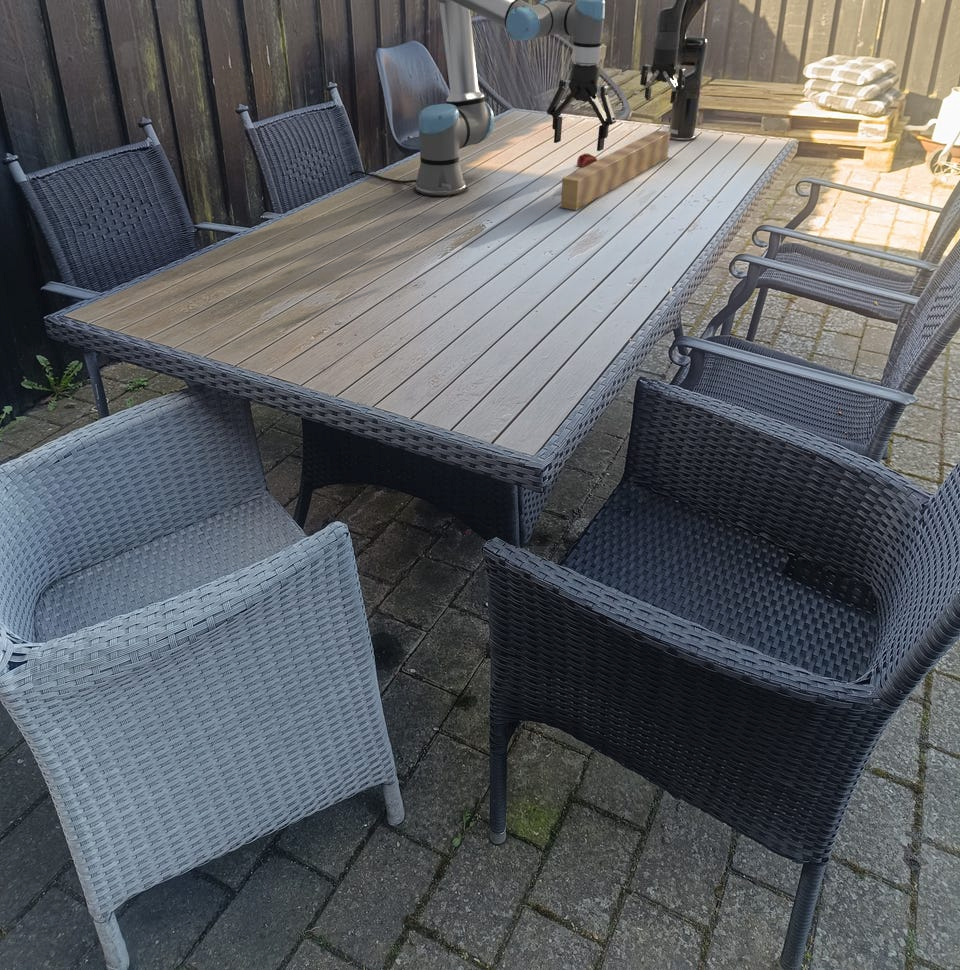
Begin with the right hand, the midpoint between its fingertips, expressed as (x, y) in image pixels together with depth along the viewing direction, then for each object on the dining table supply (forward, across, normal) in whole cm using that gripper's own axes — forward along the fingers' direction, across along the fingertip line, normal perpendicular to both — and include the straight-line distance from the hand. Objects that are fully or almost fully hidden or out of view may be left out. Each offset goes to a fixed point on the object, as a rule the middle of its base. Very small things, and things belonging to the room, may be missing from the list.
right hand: (660, 101), depth 275 cm
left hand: (+1, 0, +57) cm, 57 cm away
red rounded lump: (+18, +15, +20) cm, 31 cm away
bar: (+18, 0, +28) cm, 34 cm away
